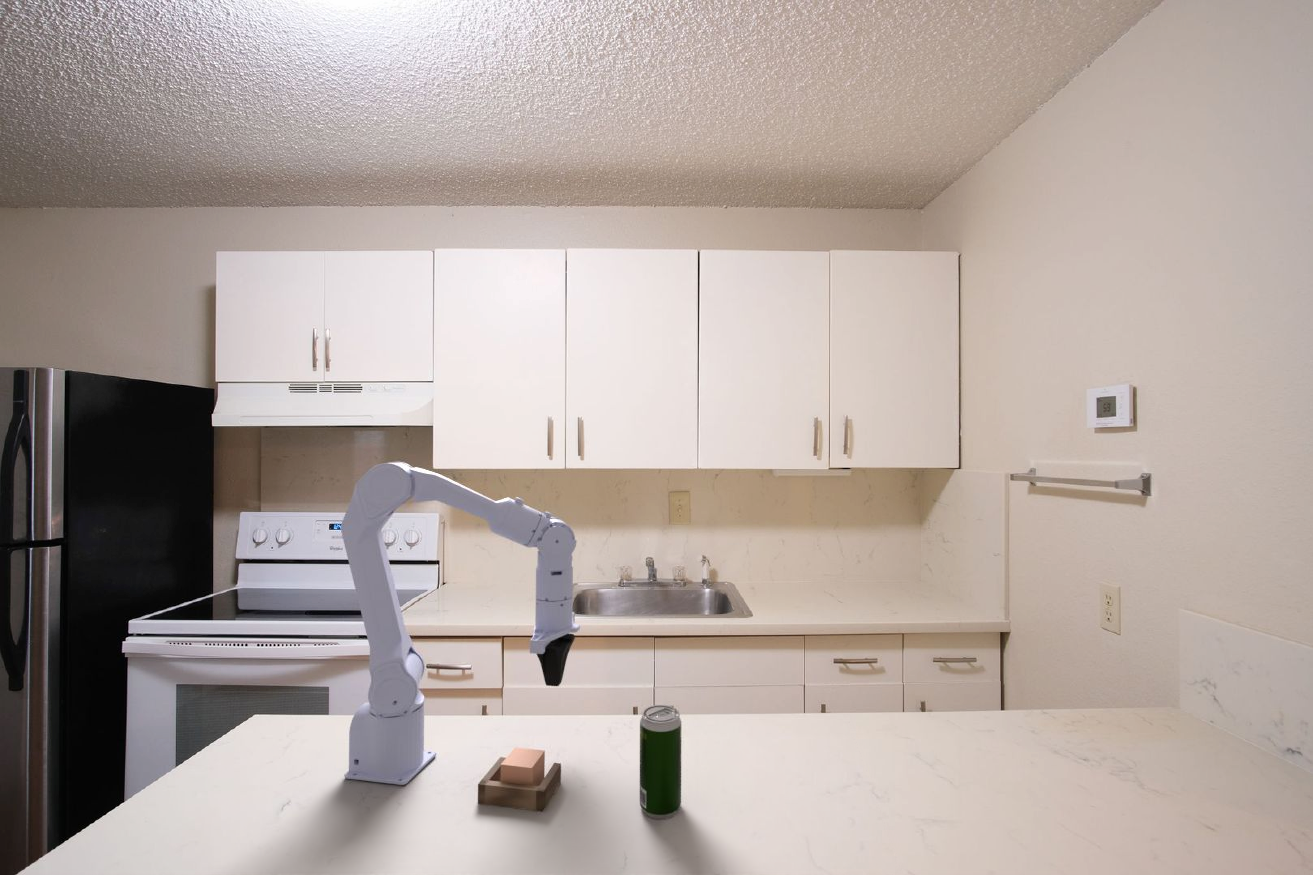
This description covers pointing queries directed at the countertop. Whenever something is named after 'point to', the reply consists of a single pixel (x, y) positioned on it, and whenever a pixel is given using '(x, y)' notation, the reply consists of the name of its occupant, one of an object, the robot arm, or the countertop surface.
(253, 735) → the countertop surface
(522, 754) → the terracotta block
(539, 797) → the walnut bay
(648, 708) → the beer can
